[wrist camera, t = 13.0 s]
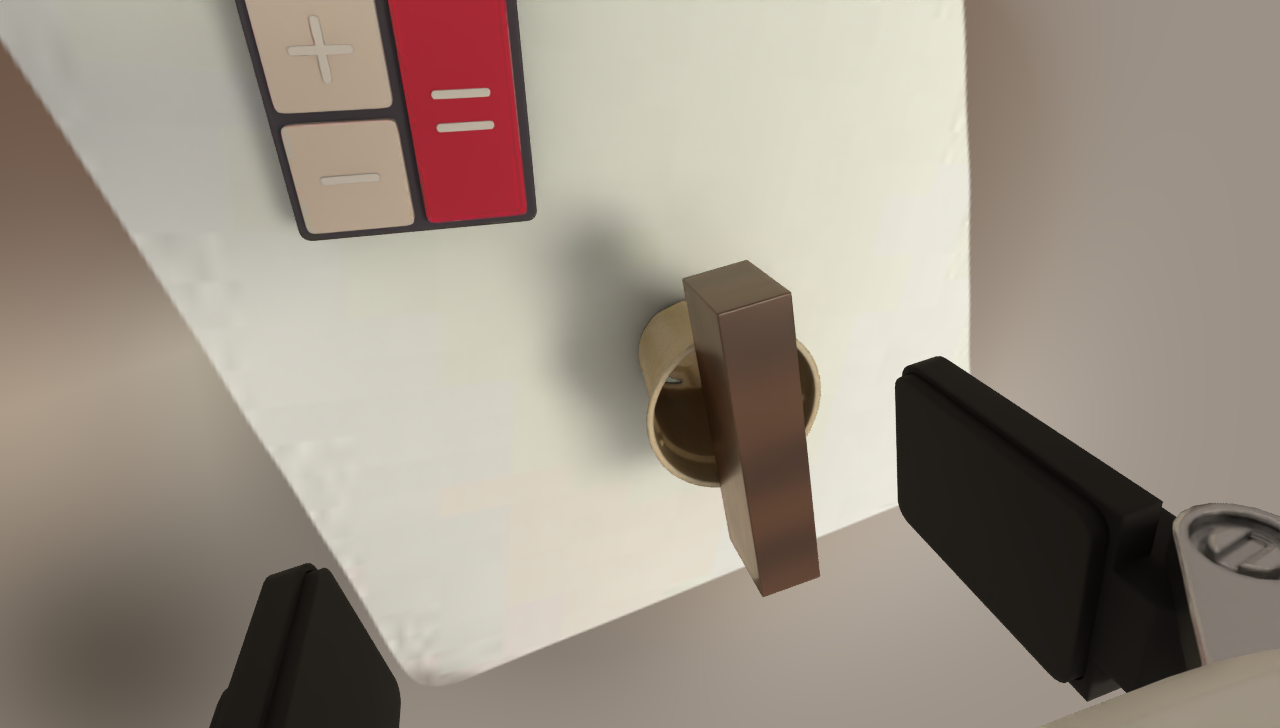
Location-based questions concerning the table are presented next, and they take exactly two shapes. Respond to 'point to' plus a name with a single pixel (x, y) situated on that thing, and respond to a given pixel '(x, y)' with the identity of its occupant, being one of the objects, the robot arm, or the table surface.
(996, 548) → the robot arm
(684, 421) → the flower pot
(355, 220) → the calculator
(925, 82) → the table surface
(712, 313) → the brown wooden block
